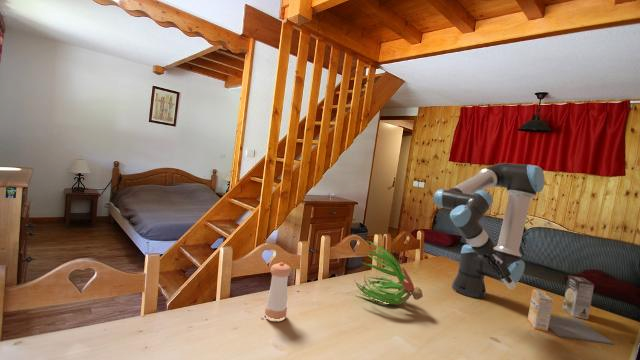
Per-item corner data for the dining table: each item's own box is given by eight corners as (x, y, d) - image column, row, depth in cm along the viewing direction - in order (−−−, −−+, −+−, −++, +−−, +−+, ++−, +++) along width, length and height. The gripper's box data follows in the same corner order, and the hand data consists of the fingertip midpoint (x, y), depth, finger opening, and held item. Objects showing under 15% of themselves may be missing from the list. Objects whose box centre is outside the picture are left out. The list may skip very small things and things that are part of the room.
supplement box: (526, 319, 135) (532, 288, 134) (540, 322, 133) (545, 291, 132) (534, 329, 127) (539, 296, 126) (548, 332, 125) (553, 299, 124)
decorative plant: (415, 336, 120) (339, 311, 130) (421, 299, 143) (356, 280, 153) (427, 274, 113) (345, 253, 124) (432, 245, 136) (362, 229, 146)
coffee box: (561, 307, 152) (567, 274, 151) (576, 310, 151) (582, 277, 150) (572, 316, 144) (578, 281, 142) (589, 319, 142) (595, 284, 141)
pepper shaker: (289, 316, 113) (296, 262, 112) (278, 324, 106) (285, 267, 105) (272, 309, 116) (278, 257, 115) (260, 317, 109) (266, 262, 108)
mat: (558, 336, 123) (558, 334, 123) (530, 313, 141) (530, 312, 141) (613, 344, 122) (613, 342, 122) (578, 320, 140) (578, 319, 140)
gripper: (462, 242, 131) (494, 286, 134) (482, 252, 118) (517, 300, 121) (477, 231, 131) (508, 274, 134) (498, 239, 118) (532, 287, 121)
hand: (512, 287), depth 127 cm, fingers closed
